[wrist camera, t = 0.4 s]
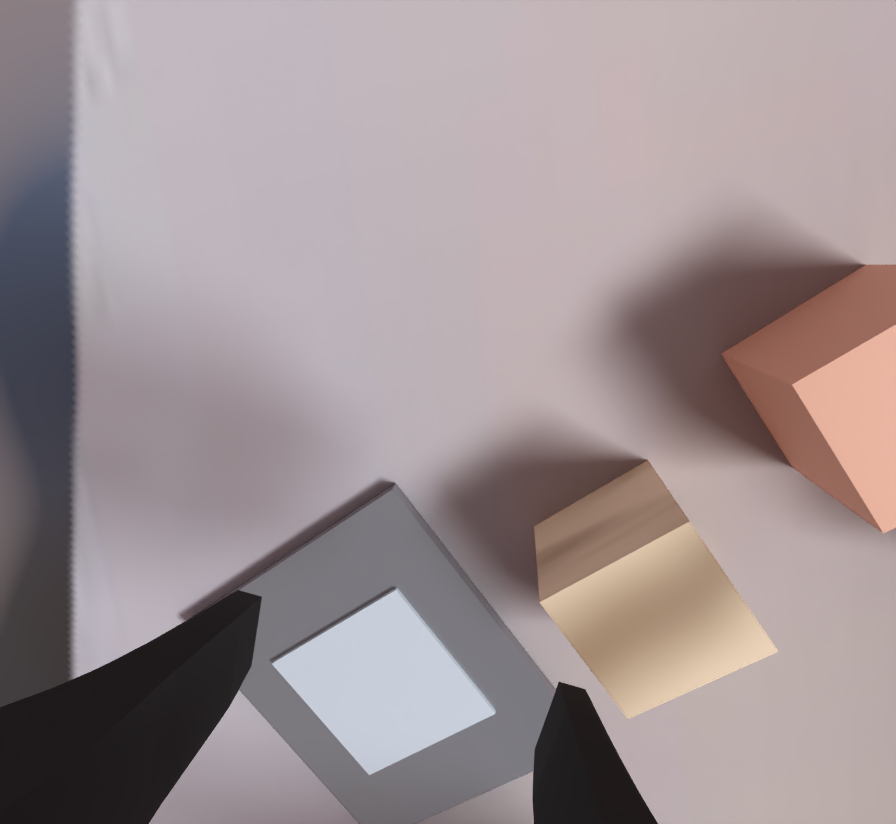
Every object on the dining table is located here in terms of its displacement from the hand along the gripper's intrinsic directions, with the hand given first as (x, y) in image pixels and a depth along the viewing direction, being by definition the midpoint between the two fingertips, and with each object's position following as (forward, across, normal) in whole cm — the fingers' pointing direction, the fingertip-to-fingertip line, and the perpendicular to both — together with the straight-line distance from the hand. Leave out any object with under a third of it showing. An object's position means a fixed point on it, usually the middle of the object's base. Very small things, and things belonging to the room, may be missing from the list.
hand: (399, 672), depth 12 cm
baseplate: (+9, +1, +9) cm, 13 cm away
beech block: (+9, -7, 0) cm, 12 cm away
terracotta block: (+9, -11, -8) cm, 17 cm away
